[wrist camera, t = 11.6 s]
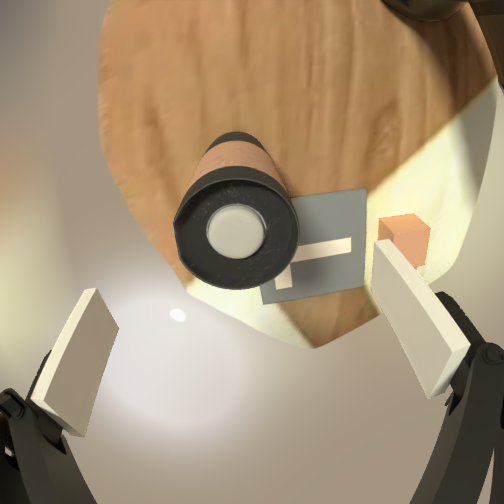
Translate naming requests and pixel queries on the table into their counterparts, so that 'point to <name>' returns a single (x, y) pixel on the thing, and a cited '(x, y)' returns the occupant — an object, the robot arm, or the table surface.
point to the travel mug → (236, 217)
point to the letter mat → (324, 247)
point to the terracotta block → (406, 236)
